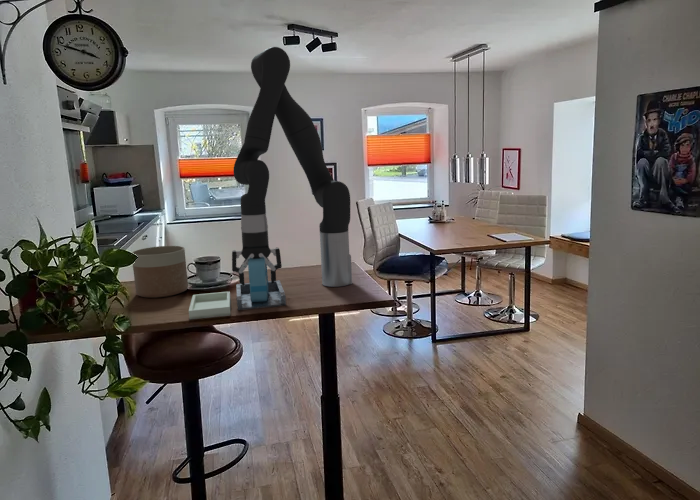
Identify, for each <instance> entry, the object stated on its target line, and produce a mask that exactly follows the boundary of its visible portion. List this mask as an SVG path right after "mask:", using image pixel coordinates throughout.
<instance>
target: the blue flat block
mask: <svg viewBox="0 0 700 500" xmlns="http://www.w3.org/2000/svg"><path fill="white" fill-rule="evenodd" d="M247 268H248V270H247V271H248V281H249V282H248V283H250V296H251V302H265V301H267V298H268V292H269V289H268V281H269V280H268V279H269V278H268V277H269V276H268V266H267V264H266V263H265V259H261V258H259V259H252V260H249V262H248V266H247Z"/></svg>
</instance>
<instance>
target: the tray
mask: <svg viewBox="0 0 700 500" xmlns="http://www.w3.org/2000/svg"><path fill="white" fill-rule="evenodd" d="M227 316H231V292H230V290H229V291H221V292H210V293H199V294H193V295H192V297H191V301H190V303H189V308H188V317H189V318H188V320H197V319H208V318H218V317H227Z"/></svg>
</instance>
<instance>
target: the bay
mask: <svg viewBox="0 0 700 500" xmlns="http://www.w3.org/2000/svg"><path fill="white" fill-rule="evenodd" d="M244 284H245V286H242V284H240V283H237V284H236V286H235V287H236V288H235V289H236V306H237V311H243V310H255V309H264V308H275V307H284V306H287V298H286V293H285V290H284V288H283V286H282V283H281V280H279V279H278V280H276V281H274V283H271V280H268V289H269V292H268V298H267V301H265V302H251V296H250V283H249V282H246V283H245V282H244Z"/></svg>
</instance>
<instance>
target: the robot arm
mask: <svg viewBox="0 0 700 500" xmlns="http://www.w3.org/2000/svg"><path fill="white" fill-rule="evenodd" d="M250 63H251V64H250V69H251V70H250V71H251V74H252V77H253V78H254V80H255V81H256V83H257V85H258V87H259V91H258V95H257V98H256V101H255V103H254V106H253V108H252V110H251V112H250V115H249V117H248V121H247V123H246V124H247V125H246V130H245V136H244V139H243V140H244V141H243V144H242V146H241V148H240V150H239V153H238V154H237V157H236V159H235V161H234V164H233V177H234V180H235V181H236V182H237V183H238V184H240V185H244V186H245V185H247V186H248V189H247V193H245V194H242V195H241V197H240V216H241V218H240V230H241V243H242V245H241V246H242V249H241V250H235V249H234V250H232V251H231V271H232V272H233V273H238V278H239V284H242V286H245V272H244V271H245V269H246V268H248V262H249V260H252V259H259V258H261V259H265V263H266V264H267V267H269V269H270V281H271V283H274V281H277V272H276V271H277V270H280V269H282V258H281V250H280V248H279V247H275V248H270V245H269V225H268V217H267V210H266V209H267V208H266V197H267V194H268V193H267V192H268V187H269V183H270V182H269V181H270V171H269V168H268V166H267V164H266V162H264V161H263V160H260V159H259V158H260V157H261V156H262V155H263V154H265V153H267V152H268V150H269V146H270V142H271V141H270V140H271V137H272V132H273V131H272V130H273V126H274V120H275V117H276V118H277V121H278V123H279V125H280V126H281V128H282V130H283V133H284V135H285V137H286V140H287V142H288V144H289V145H290V148H291V149H292V151H293V153H294V155H295V156H296V158H297V161H298V163H299V165H300V166H301V168H302V170H303V172H304V174H305V177H306V179H307V181H308V183H309V187H310V189H311V192H312V194H313V198H314V199H315V202H316V203H317V205H319V207H320V208H322V219H321V222H320V223H319V226H318V227H319V242H320V245H319V246H320V262H321V263H320V265H321V280H322V281H321V283H322V284H321V285H323V286H325V287H330V288H331V287H332V288H333V287H334V288H337V287H344V286H349V285H353V270H352V255H351V253H350V238H349V237H350V236H349V233H350V232H349V225H350V221H351V193H350V189H349V187H348V186H347V185H346V184H345V183H344V182H342V181H339V180H334V178H333V175H331V172H330V171H329V169H328V167H327V164H326V162H325V158H324V153H323V152H324V151H323V146H322V141H321V137H320V134H319V133H318V130H317V128H316V126H315V124H314V122H313V120H312V118H311V117H310V115H309V114H308V113H307V112H306V110H305V109H304V108H303V107H302V106H301V105H299V103H297V101H296V100H295V99H294V98H293V97H292V95H291V94H290V92H289V90H288V88H287V86H286V82H287V79H288V76H289V73H290V70H291V60H290V56H289V54H288V53H287V52H286V51H285V50H284V49H283V48H281V47H279V46H270V47H268V48H266V49H264V50H262V51H261V52H259V53H257V54H256V55H255V56H254V57H253V58H252V60H251V62H250ZM271 254H272V255H273V256H274V257H275V260H276V264H273V263H272V261H271V260H270V259H269V257H270V255H271ZM240 256H242V257H243V259H244V260H243V262H242V264H241V265H240V266H239V267H238V266H237V259H239V258H240Z"/></svg>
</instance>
